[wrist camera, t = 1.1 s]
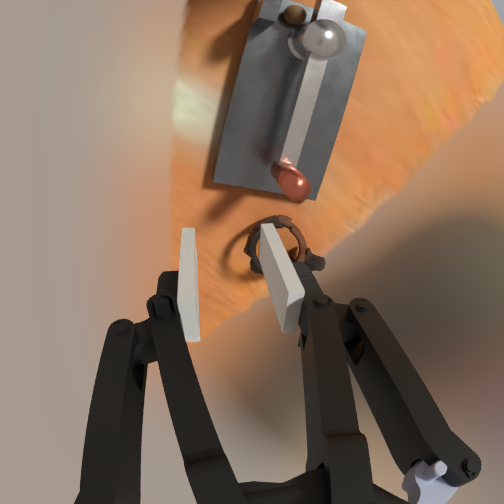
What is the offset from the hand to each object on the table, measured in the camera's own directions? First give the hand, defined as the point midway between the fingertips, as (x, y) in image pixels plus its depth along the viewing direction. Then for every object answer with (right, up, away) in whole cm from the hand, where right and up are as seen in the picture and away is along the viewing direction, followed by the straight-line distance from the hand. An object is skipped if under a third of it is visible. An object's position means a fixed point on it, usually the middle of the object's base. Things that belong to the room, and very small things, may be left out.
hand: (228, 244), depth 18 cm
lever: (+7, +18, +11) cm, 23 cm away
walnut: (+6, +27, +6) cm, 28 cm away
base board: (+6, +19, +14) cm, 24 cm away
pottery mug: (+6, +1, +26) cm, 27 cm away
